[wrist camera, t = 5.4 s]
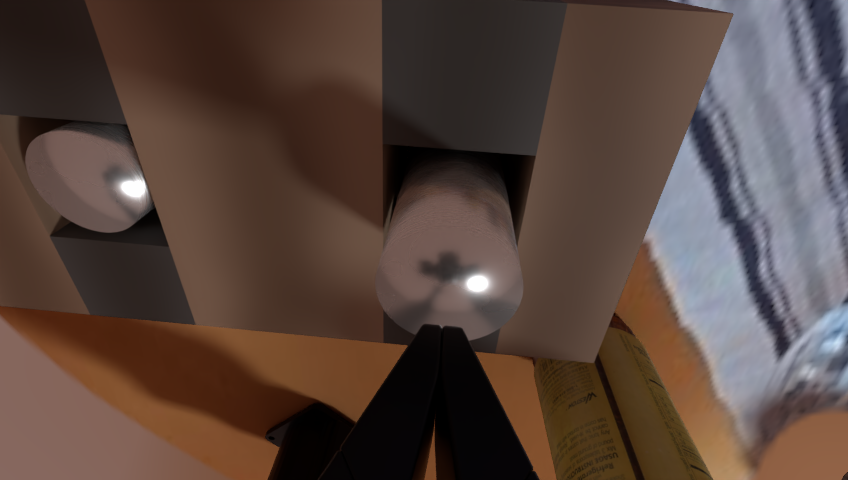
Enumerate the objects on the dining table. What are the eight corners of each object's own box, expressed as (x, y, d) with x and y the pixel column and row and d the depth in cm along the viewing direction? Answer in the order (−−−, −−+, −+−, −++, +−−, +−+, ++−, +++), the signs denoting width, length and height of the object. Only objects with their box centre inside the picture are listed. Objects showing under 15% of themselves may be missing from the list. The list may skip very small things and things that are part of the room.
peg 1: (227, 81, 19) (118, 136, 13) (242, 158, 21) (154, 236, 15) (147, 75, 19) (4, 127, 13) (170, 152, 21) (54, 228, 15)
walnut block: (633, -7, 16) (733, 14, 10) (560, 257, 22) (593, 363, 16) (10, -45, 17) (-236, -47, 11) (117, 219, 23) (0, 305, 17)
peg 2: (509, 129, 15) (536, 234, 9) (495, 216, 17) (510, 348, 11) (408, 121, 15) (374, 220, 9) (406, 208, 17) (376, 335, 11)
